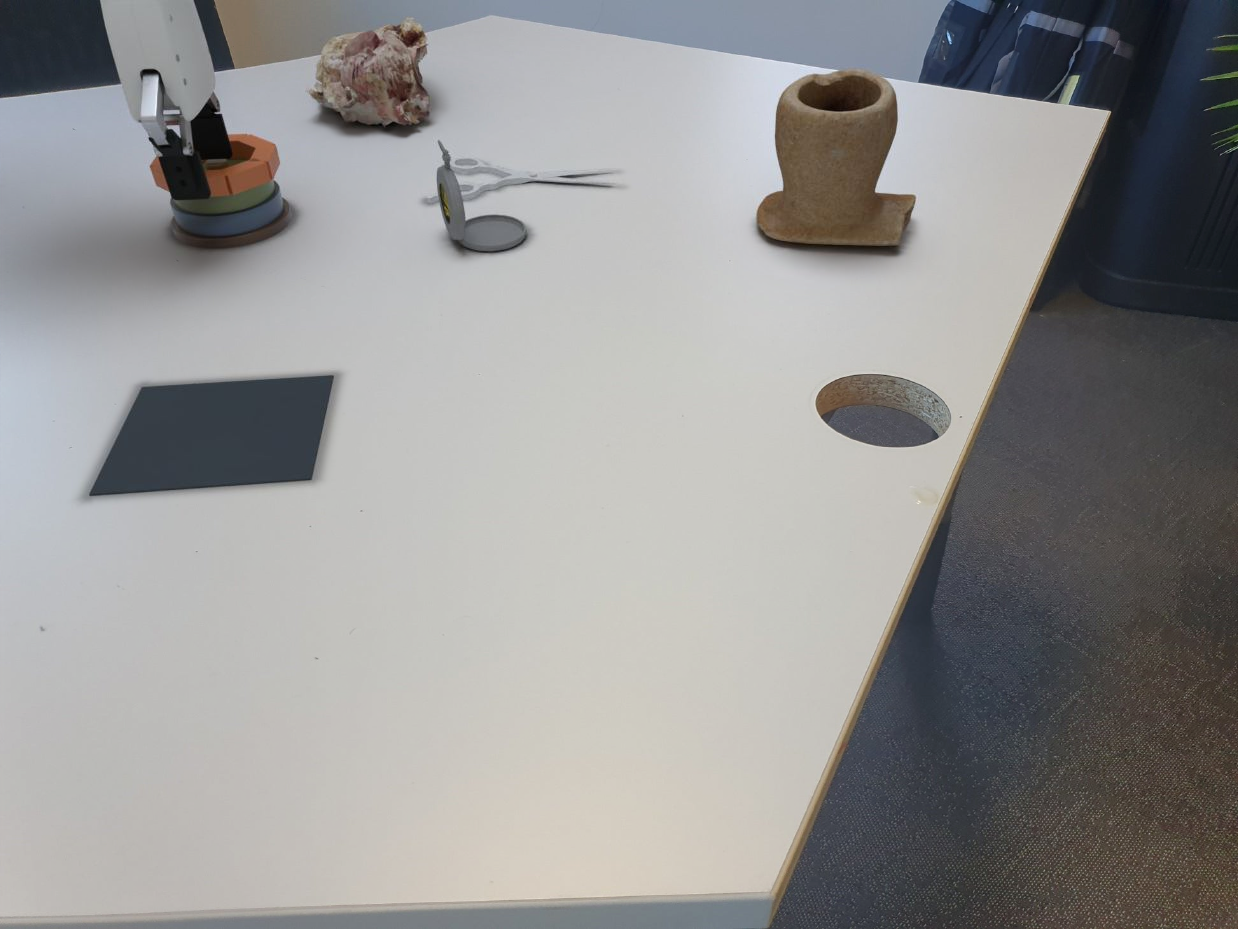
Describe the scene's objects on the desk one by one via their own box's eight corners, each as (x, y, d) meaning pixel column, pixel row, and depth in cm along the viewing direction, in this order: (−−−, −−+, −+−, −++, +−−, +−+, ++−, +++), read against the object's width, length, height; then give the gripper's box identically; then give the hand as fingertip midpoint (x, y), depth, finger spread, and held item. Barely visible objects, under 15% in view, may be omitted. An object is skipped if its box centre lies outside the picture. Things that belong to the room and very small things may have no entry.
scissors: (437, 157, 100) (617, 153, 100) (438, 164, 100) (617, 160, 101) (426, 197, 92) (622, 193, 92) (427, 205, 92) (622, 200, 93)
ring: (145, 199, 81) (138, 180, 80) (175, 154, 89) (170, 136, 88) (267, 194, 82) (262, 175, 81) (286, 150, 90) (281, 132, 89)
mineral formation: (335, 69, 122) (295, 4, 114) (446, 32, 120) (413, -37, 111) (330, 185, 111) (286, 122, 102) (453, 146, 108) (418, 79, 100)
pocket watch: (540, 235, 87) (534, 131, 81) (483, 269, 82) (472, 162, 75) (476, 214, 91) (465, 113, 84) (417, 246, 85) (401, 141, 79)
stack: (161, 253, 84) (138, 187, 80) (190, 203, 92) (170, 141, 88) (282, 247, 85) (265, 182, 81) (300, 199, 93) (285, 137, 89)
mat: (90, 498, 58) (88, 494, 58) (143, 390, 67) (141, 386, 67) (312, 482, 60) (310, 478, 59) (334, 379, 69) (333, 374, 68)
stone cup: (750, 259, 84) (768, 93, 74) (758, 205, 93) (775, 51, 83) (918, 273, 82) (959, 105, 72) (909, 217, 91) (944, 60, 81)
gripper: (121, -62, 76) (185, 143, 87) (46, -12, 63) (132, 222, 74) (213, -64, 77) (264, 140, 88) (157, -15, 63) (227, 217, 75)
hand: (204, 176), depth 81 cm, fingers open, 8 cm apart
